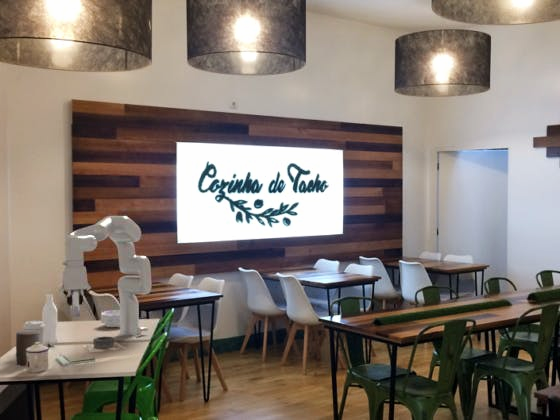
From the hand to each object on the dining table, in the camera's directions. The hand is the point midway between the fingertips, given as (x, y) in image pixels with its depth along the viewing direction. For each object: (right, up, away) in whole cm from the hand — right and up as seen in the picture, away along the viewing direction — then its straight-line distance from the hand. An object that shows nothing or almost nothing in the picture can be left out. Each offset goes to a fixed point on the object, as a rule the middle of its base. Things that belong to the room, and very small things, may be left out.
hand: (75, 304), depth 288 cm
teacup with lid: (-11, -26, -16) cm, 32 cm away
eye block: (+7, -25, +20) cm, 33 cm away
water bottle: (-22, -25, +30) cm, 45 cm away
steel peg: (0, -5, 0) cm, 5 cm away
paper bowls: (-2, -24, +77) cm, 81 cm away
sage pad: (0, -25, +1) cm, 25 cm away
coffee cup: (-23, -25, +12) cm, 36 cm away
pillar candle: (-20, -25, -3) cm, 32 cm away
